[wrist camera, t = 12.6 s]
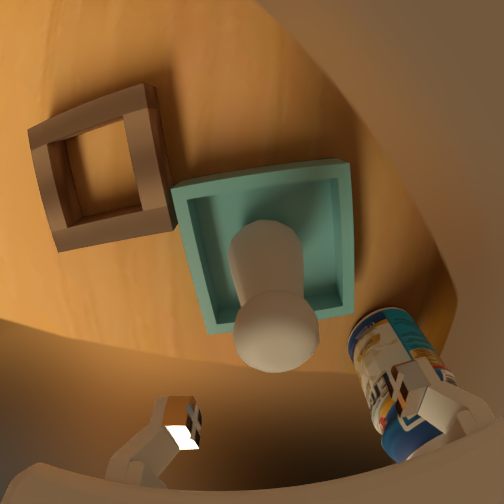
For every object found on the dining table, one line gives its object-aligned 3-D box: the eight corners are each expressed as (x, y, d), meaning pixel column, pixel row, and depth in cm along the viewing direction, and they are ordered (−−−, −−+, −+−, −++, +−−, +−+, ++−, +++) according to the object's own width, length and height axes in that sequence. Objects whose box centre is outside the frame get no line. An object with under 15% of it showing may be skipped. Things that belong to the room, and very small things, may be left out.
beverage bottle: (410, 349, 32) (480, 480, 14) (347, 370, 33) (394, 520, 15) (413, 294, 29) (515, 437, 11) (341, 316, 30) (410, 495, 11)
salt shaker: (215, 237, 25) (189, 338, 13) (272, 197, 24) (298, 272, 12) (256, 287, 27) (262, 403, 15) (311, 252, 26) (357, 355, 14)
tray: (180, 180, 24) (170, 188, 21) (336, 157, 24) (349, 162, 20) (211, 312, 29) (207, 334, 26) (343, 293, 29) (353, 313, 25)
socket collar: (46, 127, 22) (27, 129, 19) (155, 87, 21) (143, 82, 18) (73, 240, 26) (58, 252, 23) (180, 219, 26) (173, 230, 23)
